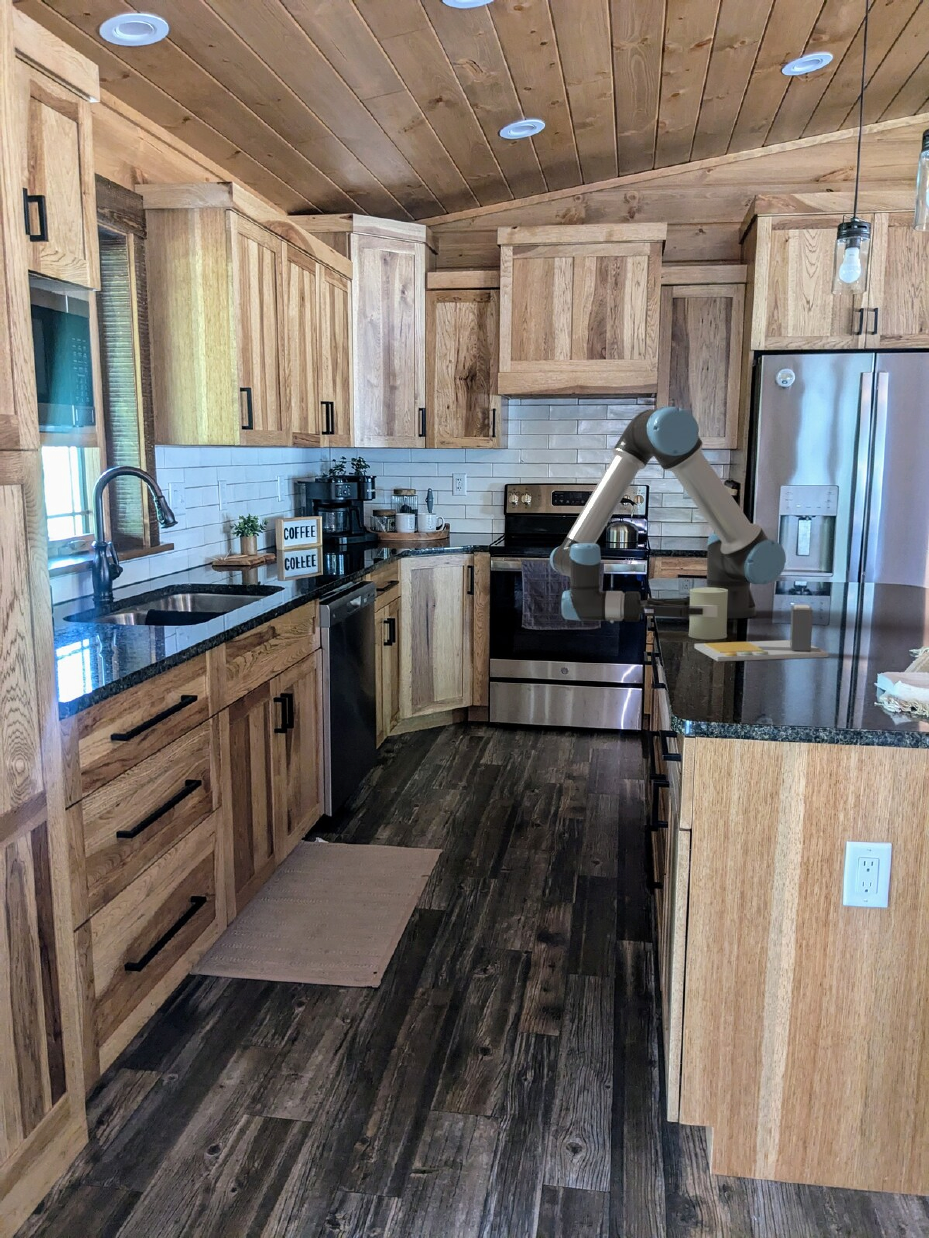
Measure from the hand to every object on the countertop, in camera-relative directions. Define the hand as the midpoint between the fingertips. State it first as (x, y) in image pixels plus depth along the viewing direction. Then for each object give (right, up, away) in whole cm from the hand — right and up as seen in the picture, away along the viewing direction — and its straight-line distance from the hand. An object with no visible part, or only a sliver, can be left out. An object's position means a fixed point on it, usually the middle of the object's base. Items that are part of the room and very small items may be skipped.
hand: (717, 608), depth 231 cm
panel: (+5, -10, -19) cm, 22 cm away
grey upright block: (+13, -9, -21) cm, 26 cm away
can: (-2, -7, +2) cm, 7 cm away
